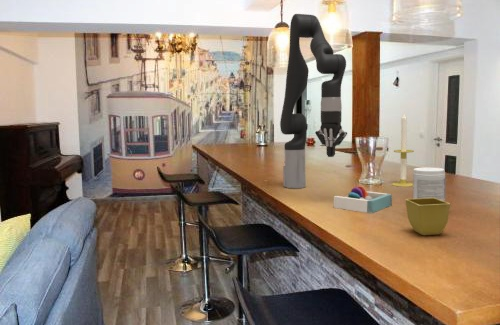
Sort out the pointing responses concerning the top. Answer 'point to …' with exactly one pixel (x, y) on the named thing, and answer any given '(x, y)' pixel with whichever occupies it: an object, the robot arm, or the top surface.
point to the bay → (364, 202)
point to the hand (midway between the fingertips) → (330, 156)
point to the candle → (403, 156)
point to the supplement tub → (429, 183)
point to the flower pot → (427, 215)
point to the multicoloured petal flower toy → (359, 194)
